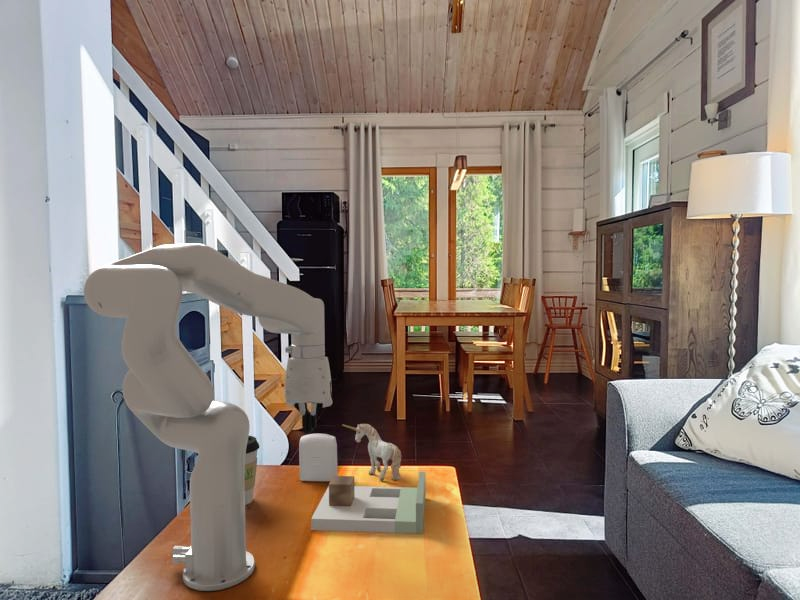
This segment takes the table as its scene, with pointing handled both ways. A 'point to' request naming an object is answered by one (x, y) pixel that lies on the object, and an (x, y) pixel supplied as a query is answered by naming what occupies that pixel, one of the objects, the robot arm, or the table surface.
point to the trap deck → (375, 510)
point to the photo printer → (318, 457)
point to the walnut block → (341, 491)
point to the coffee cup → (250, 468)
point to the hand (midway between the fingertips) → (309, 430)
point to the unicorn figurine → (379, 451)
